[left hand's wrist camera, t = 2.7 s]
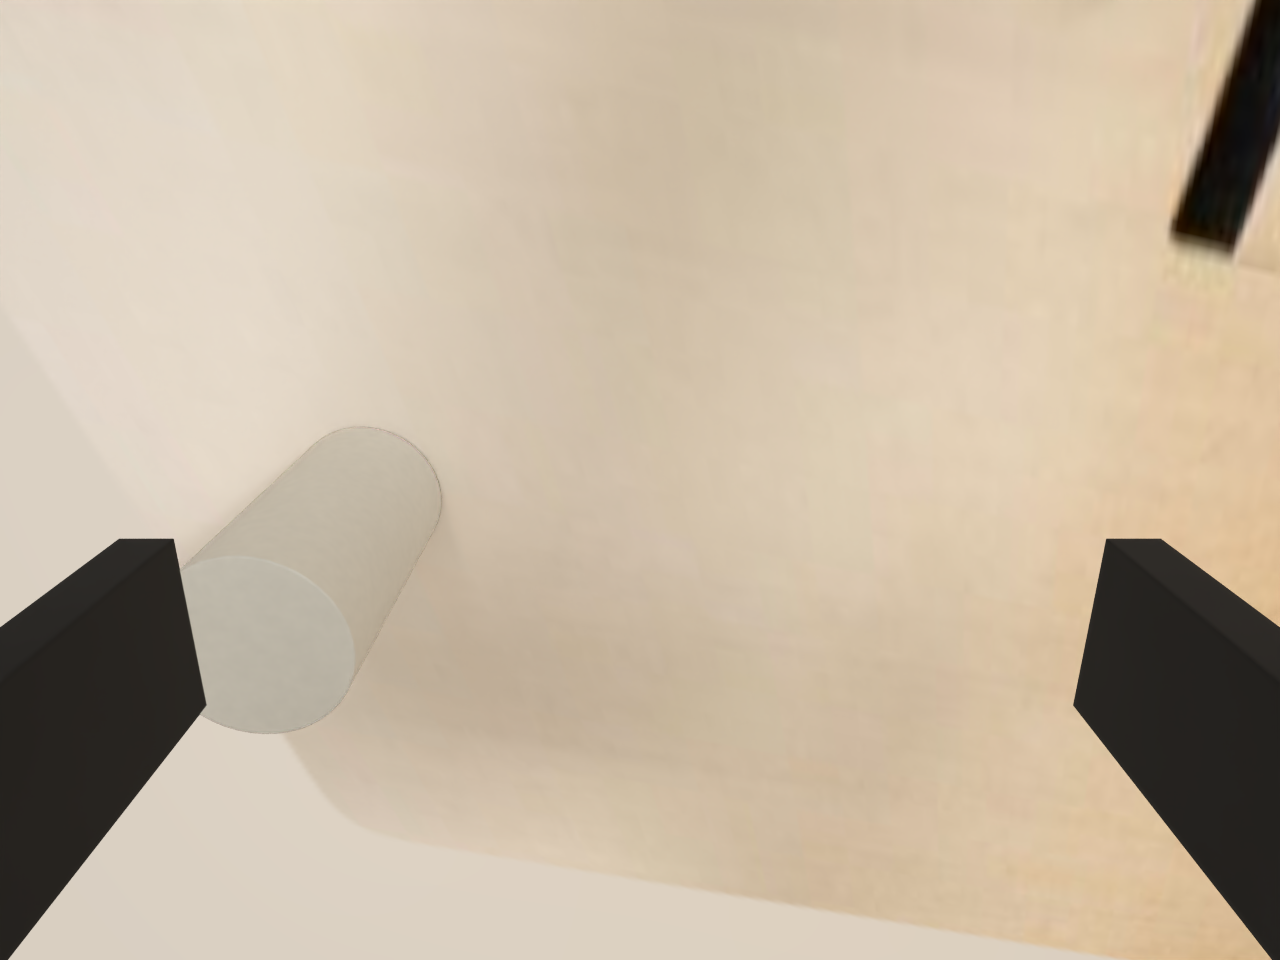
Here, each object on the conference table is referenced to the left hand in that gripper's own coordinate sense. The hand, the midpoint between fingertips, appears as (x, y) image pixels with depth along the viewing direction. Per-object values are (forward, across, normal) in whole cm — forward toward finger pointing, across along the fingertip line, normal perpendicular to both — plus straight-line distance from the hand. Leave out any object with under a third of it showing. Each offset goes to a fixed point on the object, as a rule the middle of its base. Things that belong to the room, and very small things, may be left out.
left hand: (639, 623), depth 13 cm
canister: (+21, -10, -6) cm, 24 cm away
